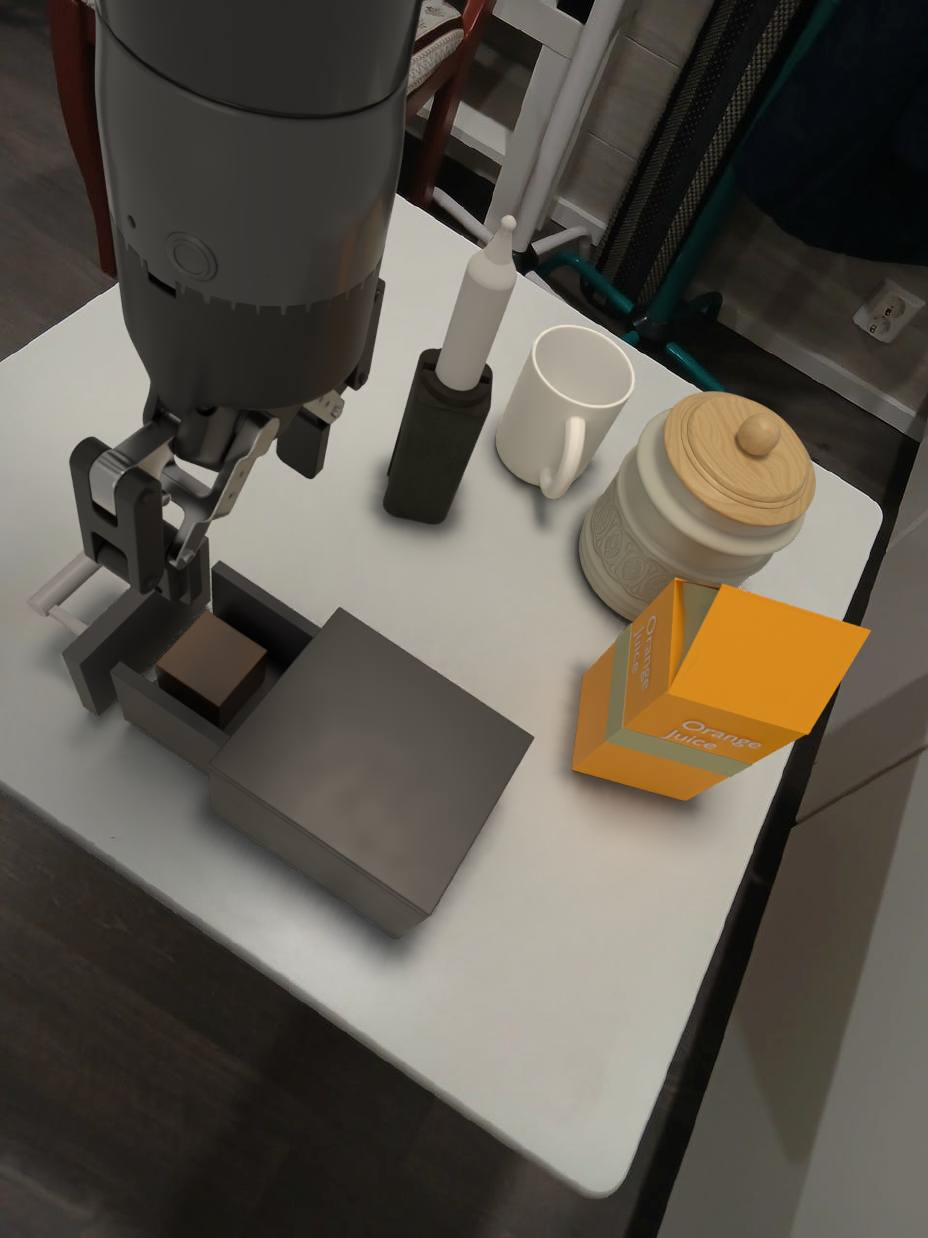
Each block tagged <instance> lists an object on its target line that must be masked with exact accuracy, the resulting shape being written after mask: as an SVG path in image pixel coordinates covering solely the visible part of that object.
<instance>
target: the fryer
mask: <svg viewBox="0 0 928 1238" xmlns="http://www.w3.org/2000/svg"><path fill="white" fill-rule="evenodd" d="M320 628H321V629H320V630H319V631H318V633H317V634H316V635H315V636H314V637H313V639H312V640H311V641H310V642H309V643H308V645H307V646H306V647H305V648H304V649H303V651H302V652H301V653H300V654H299V655H298V657H297V658H296V659H295V660H294V661H293V663H292V664H291V665H290V666H289V667H288V669H287V670H286V671H285V672H284V673H283V674H282V676H281V677H280V678H279V679H278V680H277V682H276V683H275V684H274V685H273V686H272V688H271V689H270V690H269V691H268V692H267V694H266V695H265V696H264V697H263V698H262V700H261V701H260V702H259V703H258V704H257V706H256V707H255V708H254V709H253V710H252V712H251V713H250V714H249V715H248V716H247V718H246V719H245V720H244V721H243V722H242V724H241V725H240V726H239V727H238V728H237V730H236V731H235V732H234V733H233V734H232V736H231V737H230V738H229V739H228V740H227V742H226V743H225V744H224V745H223V746H222V748H221V749H220V750H219V751H218V752H217V754H216V755H215V756H214V757H213V758H212V760H211V761H210V762H209V777H208V779H209V793H210V808H211V809H210V810H211V813H213V814H214V815H215V816H217V817H218V818H220V819H221V820H223V821H224V822H226V824H228V825H230V826H231V827H233V829H235V830H237V831H238V832H240V833H241V834H242V835H244V836H246V837H247V838H249V839H250V840H251V841H253V842H254V843H256V844H257V845H259V846H260V847H261V848H263V849H264V850H266V851H267V852H268V853H270V854H272V855H273V856H274V857H276V858H277V859H279V860H280V861H282V862H283V863H284V864H286V865H288V866H289V867H290V868H292V869H293V870H295V871H296V872H298V873H299V874H300V875H302V876H304V877H305V878H306V879H308V880H309V881H311V882H312V883H314V884H315V885H317V886H318V887H319V888H320V889H322V890H324V891H325V892H327V893H328V894H329V895H331V896H332V897H334V898H335V899H337V900H338V901H340V903H343V904H344V905H346V906H347V907H348V908H350V909H351V910H353V911H354V912H355V913H357V914H358V915H360V916H361V917H363V918H364V919H366V920H367V921H369V922H370V923H371V924H373V926H376V927H377V928H379V929H380V930H382V931H383V932H384V933H385V934H387V935H389V936H390V937H392V938H393V939H395V940H397V939H399V938H400V937H403V936H404V935H405V934H407V933H408V932H409V931H412V930H413V929H414V928H415V927H417V926H418V925H420V924H421V923H423V922H424V921H425V920H427V919H428V918H430V917H431V916H432V915H433V913H434V911H436V910H435V909H436V908H437V906H438V905H439V903H440V901H441V899H442V897H443V896H444V894H445V892H446V891H447V889H448V887H449V885H450V884H451V882H452V880H453V879H454V877H455V875H456V874H457V873H458V870H459V869H460V867H461V865H462V864H463V862H464V860H465V858H466V857H467V855H468V853H469V851H470V850H471V848H472V846H473V844H474V843H475V841H476V839H477V838H478V836H479V834H480V833H481V831H482V830H483V828H484V826H485V824H486V822H487V820H488V819H489V817H490V815H491V814H492V812H493V810H494V809H495V807H496V805H497V803H498V801H499V800H500V798H501V796H502V795H503V793H504V792H505V789H506V788H507V786H508V784H509V782H510V781H511V779H512V778H513V776H514V774H515V772H516V771H517V769H518V767H519V766H520V764H521V762H522V760H523V758H524V757H525V755H526V754H527V752H528V750H529V748H530V747H531V745H532V743H533V742H534V740H535V736H534V735H532V734H531V733H530V732H529V731H527V730H525V729H523V728H522V727H520V726H519V725H517V724H516V723H514V722H513V721H512V720H510V719H508V718H507V717H506V716H504V715H503V714H501V713H500V712H498V711H497V710H495V709H494V708H492V707H490V706H489V705H488V704H486V703H484V702H483V701H482V700H480V699H478V698H477V697H476V696H474V695H472V694H471V693H470V692H468V691H467V690H465V689H463V688H462V687H460V686H459V685H458V684H456V683H454V682H453V681H452V680H450V679H449V678H447V677H446V676H444V675H443V674H441V673H440V672H438V671H437V670H436V669H434V668H432V667H431V666H429V665H428V664H426V663H425V662H423V661H422V660H420V659H419V658H418V657H416V656H415V655H413V654H412V653H410V652H408V651H407V650H406V649H404V648H403V647H401V646H400V645H398V644H396V643H395V642H394V641H392V640H391V639H389V638H387V637H386V636H384V635H383V634H381V632H379V631H377V630H376V629H375V628H372V627H371V626H370V625H368V624H367V623H365V622H364V621H362V620H361V619H359V618H358V617H356V616H355V615H353V614H352V613H350V612H349V611H347V610H345V608H343V607H341V606H338V608H336V609H335V610H334V612H333V613H332V614H331V616H330V617H329V618H328V619H327V620H326V622H325V623H324V624H323V625H322V626H321V627H320Z"/></svg>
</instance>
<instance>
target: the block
mask: <svg viewBox="0 0 928 1238" xmlns="http://www.w3.org/2000/svg"><path fill="white" fill-rule="evenodd" d="M266 661H267V650H266V649H264V648H263V647H261V646H260V645H258V644H257V643H255V642H254V641H253V640H251V639H250V638H248V637H247V636H245V635H244V634H242V633H241V632H239V631H238V630H236V629H235V628H233V627H232V626H230V625H229V624H227V623H226V622H224V621H223V620H221V619H220V618H218V617H217V616H215V615H214V614H212V611H209V610H208V609H205V610H204V611H203V612H202V613H201V614H200V615H199V616H198V617H197V618H196V620H194V621H193V622H192V624H190V626H189V627H188V628H186V630H185V631H184V632H183V633H182V634H181V635H180V636H179V637H178V638H177V640H175V642H174V643H173V644H172V645H171V646H170V647H168V649H167V650H166V651H165V652H164V653H163V654H162V655H161V656H160V658H158V659H157V661H156V662H155V663H154V668H155V673H156V679H158V685H159V688H161V689H162V690H164V691H165V692H167V693H168V694H169V695H171V696H172V697H174V698H175V699H177V700H178V701H180V702H181V703H183V704H184V705H186V706H187V707H188V708H190V709H191V710H193V711H194V712H196V713H197V714H199V715H200V716H202V717H203V718H204V719H206V720H207V721H209V722H210V723H212V724H213V725H215V726H216V727H218V728H219V729H221V730H222V731H223V729H224V728H225V727H226V726H227V725H228V723H229V722H230V721H231V720H232V719H233V717H234V716H235V715H236V714H237V713H238V712H239V710H240V709H241V708H242V707H243V706H244V704H245V703H246V702H247V701H248V700H249V698H250V697H251V696H252V695H253V694H254V692H255V691H256V690H257V689H258V688H259V686H260V685H261V684H262V683H263V682H264V680H265V671H266Z"/></svg>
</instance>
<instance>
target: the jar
mask: <svg viewBox="0 0 928 1238" xmlns="http://www.w3.org/2000/svg"><path fill="white" fill-rule="evenodd" d="M816 480H817V479H816V472H815V467H814V465H813V461H812V459H811V457H810V454H809V452H808V451H807V449H806V447H805V445H804V444H803V442H802V441H801V439H800V438H799V437H798V435H797V433H796V432H795V431H794V429H792V427H791V426H790V425H789V423H787V422H786V421H785V420H784V419H783V418H782V417H781V416H779V415H778V414H777V413H776V412H774V411H773V410H772V409H769V408H768V407H767V406H765V405H763V404H761V403H759V402H757V401H755V400H752V399H749V398H747V397H744V396H742V395H738V394H735V393H729V392H724V391H716V390H715V391H711V390H710V391H701V392H696V393H692V394H690V395H688V396H685V397H683V398H682V399H681V400H679V401H678V402H677V403H676V404H674V405H673V407H671V408H667V409H665V410H663V411H661V412H659V413H657V414H656V415H655V416H654V417H653V418H651V419H650V420H649V421H648V422H647V423H646V424H645V426H644V427H643V429H642V430H641V433H640V435H639V437H638V440H637V444H636V445H635V446H633V447H632V448H631V449H630V450H629V451H628V452H627V453H626V455H625V457H624V458H623V459H622V462H621V463H620V466H619V468H618V471H617V472H616V473H615V475H614V477H613V478H612V479H611V481H610V483H609V484H608V486H607V487H606V489H605V490H604V492H603V493H601V494H600V496H598V498H597V499H596V500H595V501H594V502H593V504H592V505H591V507H590V508H589V510H588V512H587V514H586V516H585V518H584V521H583V523H582V527H581V530H580V534H579V539H578V556H579V562H580V565H581V568H582V571H583V573H584V576H585V578H586V580H587V582H588V584H589V585H590V586H591V588H592V590H593V591H594V593H595V594H596V595H597V596H598V597H599V598H600V599H601V601H603V602H604V604H606V605H607V606H608V607H609V608H610V609H612V610H613V611H614V612H615V613H617V614H618V615H620V616H621V617H624V618H625V619H627V620H629V621H631V623H633V622H634V621H635V620H636V619H637V618H638V617H639V616H640V615H641V614H642V612H643V611H644V610H645V609H646V608H647V607H648V606H649V605H650V604H651V603H652V602H653V601H654V600H655V599H656V598H657V596H658V595H659V594H660V593H661V592H662V591H663V590H664V589H665V588H666V587H667V586H668V585H669V584H670V583H671V582H672V581H673V579H674V578H678V579H681V580H684V581H688V582H695V583H701V584H708V585H714V586H720V587H721V586H722V584H725V585H729V586H732V587H735V588H738V589H739V587H740V586H741V585H742V584H744V582H746V581H747V580H748V579H749V578H750V577H752V576H754V575H756V574H757V573H759V572H760V571H761V570H762V569H763V568H764V567H765V566H767V564H768V563H769V562H770V561H771V560H772V557H773V556H774V554H775V553H777V552H780V551H782V550H783V549H785V548H786V547H788V546H789V545H790V544H791V543H792V542H793V541H794V540H795V539H796V537H797V536H798V535H799V533H800V532H801V529H802V527H803V526H804V523H805V518H806V511H808V509H809V507H810V506H811V505H812V503H813V500H814V498H815V493H816V486H817V481H816Z"/></svg>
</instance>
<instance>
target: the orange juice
mask: <svg viewBox="0 0 928 1238" xmlns="http://www.w3.org/2000/svg"><path fill="white" fill-rule="evenodd" d="M871 632H872V630H871V629H869V628H865V627H862V626H859V625H856V624H852V623H850V622H846V621H843V620H839V619H836V618H834V617H830V616H827V615H824V614H821V613H818V612H814V611H811V610H808V609H805V608H801V607H798V606H796V605H792V604H789V603H786V602H783V601H780V600H776V599H773V598H769V597H767V596H763V595H761V594H757V593H754V592H750V591H748V590H744V589H741V588H739V587H738V588H735V587H732V586H729V585H725V584H722V586H721V587H720V586H714V585H708V584H701V583H695V582H688V581H684V580H681V579H678V578H674V579H673V581H672V582H671V583H670V584H669V585H668V586H667V587H666V588H665V589H664V590H663V591H662V592H661V593H660V594H659V595H658V596H657V598H656V599H655V600H654V601H653V602H652V603H651V604H650V605H649V606H648V607H647V608H646V609H645V610H644V611H643V612H642V614H641V615H640V616H639V617H638V618H637V619H636V620H635V621H634V622H631V623H630V624H629V625H628V626H626V628H625V629H624V630H623V632H621V634H619V635H618V637H616V639H615V641H614V642H613V643H612V644H611V645H610V646H609V648H607V649H606V651H605V652H604V653H603V654H602V655H601V656H600V657H599V658H598V659H597V660H596V661H595V662H594V663H593V664H592V665H591V667H589V669H588V670H587V671H586V672H584V674H583V675H582V682H581V690H580V698H579V706H578V713H577V714H578V715H577V722H576V729H575V739H574V745H573V746H574V747H573V754H572V763H571V771H575V772H579V773H582V774H586V775H589V776H593V777H597V778H600V779H604V780H607V781H610V782H611V781H612V782H615V783H619V784H622V785H626V786H628V787H633V788H636V789H640V790H644V791H648V792H650V793H654V794H659V795H662V796H666V797H668V798H673V799H676V800H679V801H684V802H687V801H688V800H690V799H692V798H695V797H696V796H698V795H699V794H701V793H704V792H705V791H706V790H708V789H710V788H712V787H714V786H716V785H717V784H719V783H721V782H723V781H724V780H727V779H728V778H732V777H734V776H735V775H737V774H739V773H741V772H743V771H745V770H746V769H748V768H750V767H752V766H753V764H755V763H757V762H759V761H761V760H762V759H764V758H767V757H768V756H770V755H772V754H773V753H775V752H777V751H779V750H780V749H782V748H784V747H786V746H788V745H790V744H792V743H794V742H795V741H797V740H798V739H800V738H802V737H804V736H806V735H807V736H808V735H809V734H810V733H811V732H812V729H813V727H814V726H815V724H816V723H817V721H818V719H820V716H821V715H822V713H823V711H824V710H825V708H826V706H827V704H828V703H829V702H830V699H831V698H832V696H833V695H834V693H835V691H836V690H837V688H838V687H839V685H840V683H841V681H842V680H843V678H844V676H845V675H846V673H847V672H848V669H849V668H850V667H851V665H852V663H853V662H854V660H855V658H856V656H857V655H858V653H859V652H860V650H861V648H862V647H863V645H864V643H865V642H866V640H867V638H868V637H869V635H870V633H871Z"/></svg>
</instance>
